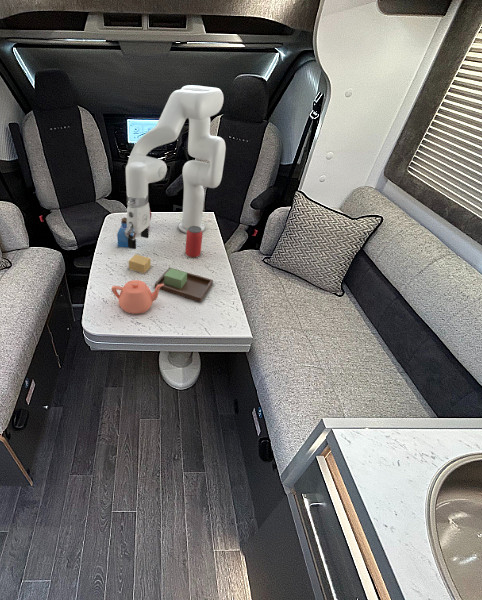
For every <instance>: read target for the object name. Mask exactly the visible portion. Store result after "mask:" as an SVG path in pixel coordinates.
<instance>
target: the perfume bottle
mask: <svg viewBox="0 0 482 600" xmlns="http://www.w3.org/2000/svg"><path fill="white" fill-rule="evenodd" d="M120 224H121V225H120V227H119V229H118V231H117V234H116V237H117V247H118V248H127V249H130V248H129V247H128V239H127V237H126V235H125V233H124V232H125V230H126V228H127V217H121V220H120ZM132 231H134V230H132ZM130 235H132V236H133V233H131V234H130Z"/></svg>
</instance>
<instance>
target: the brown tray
mask: <svg viewBox="0 0 482 600" xmlns="http://www.w3.org/2000/svg"><path fill="white" fill-rule="evenodd" d="M170 268H172V269H174V268H173V267H170V266H169V267H168V268H167V269H166V271H164V273H162V275H161V276H160V277H159V278H158V279H157V280H156V282H155V283H154V289H155V288H156V286H157V285H159V284H164V275H165V274H166V273H167V272H168V271H169V269H170ZM175 269H176V270H179V271H181V270H180V269H177V268H175ZM182 271H183V270H182ZM183 272H186V273H187V282H186V283H185V284H184V285H183V287H182V288H181V289H179V288H176V287H173V286H169V285H166V284H164V285H163V286H162V287H160V289H159V291H163V292H166V293H169V294H172V295H176V296H178V297H182V298H185V299H188V300H191V301H195V302H197V303H202V302H203V299H204V298H205V297H206V295H207V293H208V292H209V291H210V289H211V288H212V286H213V285H214V279H211V278H207V277H204V276H200V275H197V274H195V273H191V272H188V271H183Z"/></svg>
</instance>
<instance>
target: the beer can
mask: <svg viewBox="0 0 482 600" xmlns="http://www.w3.org/2000/svg"><path fill="white" fill-rule="evenodd" d="M185 238H186V239H185V255H186V256H187V257H188V258H197V257H200V256H201V254H202V253H201V252H202V242H203V231H202V229H201V228H200V227H198V226H191V227H189V228H188V231H187V233H186V237H185Z"/></svg>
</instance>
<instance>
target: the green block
mask: <svg viewBox="0 0 482 600" xmlns="http://www.w3.org/2000/svg"><path fill="white" fill-rule="evenodd" d="M172 268H173V267H170V269H169V271H168V272H167V273H166V274H165V275H164V284H166V285H169V286H173V287H176V288H179V289H181V288H182V287H183V285H184V284H185V283H186V282H187V273H188V272H187V271H184V272H183V270H180V269H177V268H173V269H172ZM176 269H177V270H176ZM179 270H180V271H179ZM186 272H187V273H186Z"/></svg>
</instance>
